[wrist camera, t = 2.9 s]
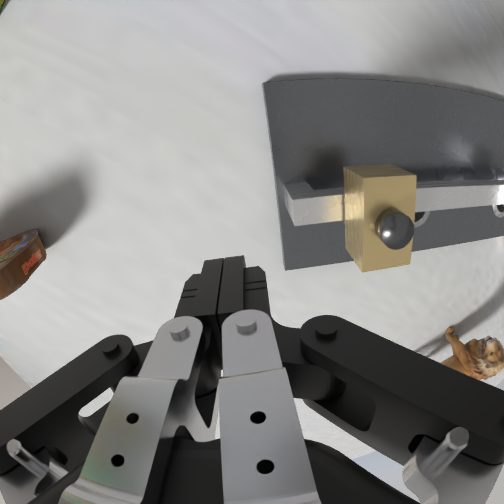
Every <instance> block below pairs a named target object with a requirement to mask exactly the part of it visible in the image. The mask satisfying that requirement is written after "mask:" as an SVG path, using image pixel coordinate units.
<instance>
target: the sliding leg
mask: <svg viewBox="0 0 504 504" xmlns="http://www.w3.org/2000/svg"><path fill="white" fill-rule="evenodd" d="M343 171H344V193H345V220H344V224H345V248H346V250H347V251H348V253H349V254H350V255H351V257H352V258H353V260H354V261H355V263H356V264H357V266H358V267H359V269H360V270H361V272H367V271H373V270H379V269H385V268H391V267H397V266H402V265H408V264H410V259H411V251H412V242H413V234H414V219H415V204H416V176H417V175H415V174H413V173H410V172H408V171H406V170H403V169H401V168H399V167H396V166H394V165H391V164H381V165H362V166H347V167H343Z"/></svg>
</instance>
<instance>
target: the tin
mask: <svg viewBox="0 0 504 504" xmlns="http://www.w3.org/2000/svg"><path fill="white" fill-rule="evenodd" d="M45 259H46V251H45V249H44V246H43V244H42V242H41V240H40V238H39V236H38V231H37V230H36V229H32V230H29V231H26V232H24V233H21V234H19V235H17V236H14V237H12V238H10V239H7V240H5V241H3V242H1V243H0V300H2V299H4V298H5V297H7V296H9V295H10V294H12V293H13V292H15V291H16V290H17V289H18V288H20V287H21V286H22V285H23V284H24V283H25V282H26V281H27V280H28V279H29V277H30V276H31V274H32V273H33V272H34V271H35V270H36V269H37V268H38V267H39V266H40V264H41V263H42V262H43V261H44V260H45Z"/></svg>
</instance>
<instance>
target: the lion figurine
mask: <svg viewBox="0 0 504 504" xmlns="http://www.w3.org/2000/svg"><path fill="white" fill-rule="evenodd" d="M453 333H454V328H453V327H449V328H448V329H447V331H446V333H445V335H446V339H447V341H448V342H449V343H450V344H451V346H452V349H453V354H454V355H453V356H451V357H449V358H448V359H446V360H444V361H442V362H441V364H443V365H445V366H448V367H450V368H452V369H454V370H457V371H459V372H461V373H464V374H466V375H468V376H471V377H473V378H475V379H477V380H481V379H484V380H486V379H487V378H489V377H492V376H495V375H496V374H497V373H498V372H500V371H501V369H503V367H504V349H503V347H502V345H501V343H500V341H498V340H497V339H496V338H492V337H490V336H487V337H486V338H484V339H481V340H476V339H472V340H470V341H469V342H468V343H466V344H465V345H464V344H463V343H462V342H461V341H459V338H458V336H455V337H454V336H453V335H452V334H453Z"/></svg>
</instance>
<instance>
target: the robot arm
mask: <svg viewBox="0 0 504 504" xmlns="http://www.w3.org/2000/svg"><path fill="white" fill-rule="evenodd" d="M221 370H223V377H221ZM109 387H110V388H111V389H112V391H113V392H114V395H113V397H112V399H111V401H109V402H108V403H107V404H105V405H104V406H103V407H101V408H100V409H99V410H97V411H96V412H95V413H93V414H92V415H91V416H89V417H82V416H80V415H79V414H78V413H79V411H80V409H81V408H82V407H84V406H85V405H87V404H88V403H89V402H91V401H92V400H93V399H95V398H96V397H97V396H99V395H100V394H101V393H103V392H104V391H105V390H107V389H108V388H109ZM293 398H301V399H303V401H304V403H305V404H306V405H307V406H308V407H310V408H311V409H313V410H314V411H316V412H317V413H318V414H320V415H321V416H323V417H324V418H326V419H327V420H329V421H330V422H332V423H333V424H335V425H336V426H338V427H340V428H341V429H343V430H344V431H346V432H347V433H349V434H350V435H352V436H354V437H355V438H357V439H358V440H360V441H362V442H363V443H365V444H367V445H368V446H370V447H372V448H373V449H375V450H377V451H378V452H380V453H382V454H384V455H385V456H387V457H389V458H391V459H392V460H394V461H396V462H398V463H399V464H401V465H403V466H404V468H403V481H404V484H405V485H406V487H407V488H408V489H409V490H410V491H412V492H413V493H414V494H415V495H416V496H417V497H418V498H419V500H420V503H421V504H485V503H486V501H487V499H488V497H489V495H490V493H491V491H492V489H493V487H494V485H495V482H496V480H497V478H498V476H499V474H500V472H501V469H502V467H503V465H504V391H503V390H501V389H499V388H496V387H494V386H492V385H489V384H487V383H484V382H482V381H480V380H477V379H475V378H473V377H471V376H468V375H466V374H464V373H461V372H459V371H457V370H454V369H452V368H450V367H448V366H445V365H443V364H441V363H439V362H436V361H434V360H432V359H430V358H427V357H425V356H423V355H421V354H418V353H416V352H414V351H412V350H410V349H407V348H405V347H403V346H401V345H399V344H396V343H394V342H392V341H390V340H388V339H386V338H383V337H381V336H379V335H377V334H375V333H373V332H370V331H368V330H366V329H364V328H362V327H360V326H357V325H355V324H353V323H351V322H349V321H347V320H345V319H343V318H340V317H337V316H332V315H322V316H317V317H314V318H311V319H309V320H308V321H306V322H305V323H304V324H303V325H302V327H301V329H299V328H290V327H285V326H282V325H280V324H278V323H277V322H275V321H274V320H273V318H272V317H271V314H270V306H269V298H268V290H267V283H266V275H265V272H264V271H263V270H262V269H261V268H260V267H259V266H256V267H248V268H246V264H245V259H244V255H243V256H235V257H227V258H225V259H224V258H220V259H213V260H205V261H204V265H203V268H202V272H201V274H193V275H192V276H191V277H190V278H189V279H188V280H187V281H186V282H185V285H184V288H183V292H182V294H181V299H180V301H179V304H178V307H177V310H176V313H175V316H174V319H171V320H169V321H167V322H166V323H164V324H163V325H162V326H161V327H160V328H159V330H158V332H157V334H156V337H155V339H154V340H153V341H150V342H146V343H143V344H139V345H135V346H134V345H133V343H132V341H131V339H130V338H129V337H127V336H125V335H112V336H109V337H107V338H105V339H103V340H101V341H100V342H98V343H97V344H95V345H94V346H93V347H91V348H90V349H88V350H87V351H85V352H84V353H82V354H81V355H79V356H78V357H76V358H75V359H74V360H72V361H71V362H69V363H68V364H66V365H65V366H63V367H62V368H60V369H59V370H58V371H56V372H55V373H53V374H52V375H50V376H49V377H47V378H46V379H45V380H43V381H42V382H40V383H39V384H37V385H36V386H34V387H33V388H32V389H30V390H29V391H27V392H26V393H24V394H23V395H22V396H20V397H19V398H17V399H16V400H15V401H13V402H12V403H10V404H9V405H7V406H6V407H5V408H3V409H2V410H0V490H1V493H2V495H3V498H4V500H5V503H6V504H420V503H419V502H417V501H415V500H413V499H412V498H410V497H408V496H406V495H404V494H403V493H401V492H400V491H398V490H396V489H395V488H393V487H391V486H390V485H388V484H387V483H385V482H384V481H382V480H380V479H379V478H377V477H376V476H374V475H373V474H371V473H370V472H368V471H367V470H365V469H364V468H362V467H361V466H359V465H357V464H356V463H355V462H354V461H352V460H351V459H349V458H348V457H346V456H345V455H344V454H342V453H341V452H339V451H337V450H335V449H334V448H332V447H330V446H327V445H325V444H322V443H319V442H315V441H312V440H307V439H304V438H303V434H302V430H301V426H300V422H299V418H298V414H297V410H296V406H295V402H294V399H293ZM218 411H219V415H220V439H216V440H215V430H216V424H217V417H218Z"/></svg>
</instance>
